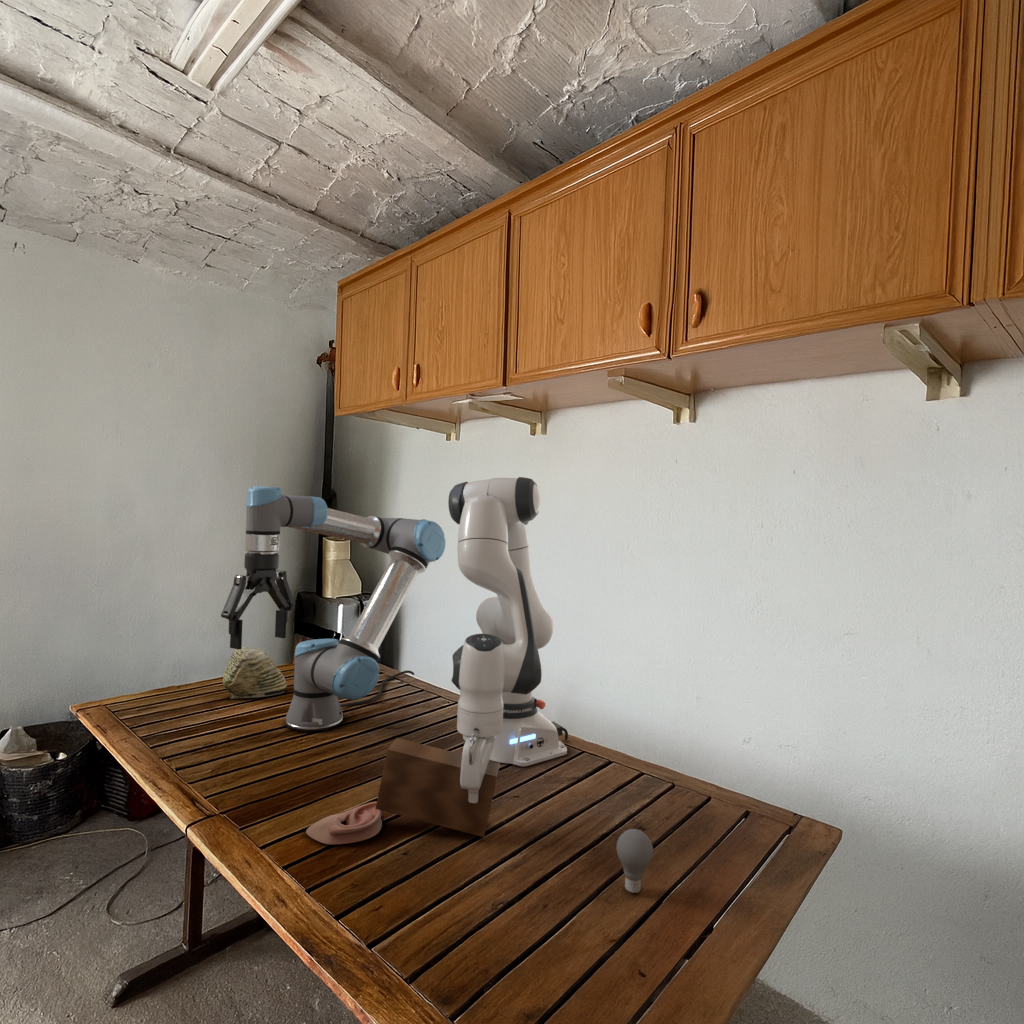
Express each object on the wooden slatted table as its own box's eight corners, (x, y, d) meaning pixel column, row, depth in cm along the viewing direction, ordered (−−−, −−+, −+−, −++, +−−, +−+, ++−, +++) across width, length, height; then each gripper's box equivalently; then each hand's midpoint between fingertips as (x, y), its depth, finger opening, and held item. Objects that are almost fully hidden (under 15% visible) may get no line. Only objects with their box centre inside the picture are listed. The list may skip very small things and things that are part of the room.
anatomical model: (298, 818, 116) (328, 791, 128) (297, 839, 116) (327, 810, 128) (365, 829, 114) (390, 800, 125) (364, 851, 114) (389, 820, 125)
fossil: (218, 695, 195) (220, 647, 195) (278, 685, 208) (279, 640, 207) (228, 703, 189) (230, 653, 188) (289, 692, 201) (290, 645, 201)
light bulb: (610, 879, 108) (613, 822, 108) (644, 879, 109) (647, 822, 109) (619, 902, 102) (622, 840, 102) (655, 901, 103) (658, 840, 103)
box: (375, 809, 121) (387, 749, 121) (384, 794, 127) (396, 737, 127) (483, 837, 119) (496, 776, 119) (488, 821, 125) (500, 763, 125)
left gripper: (230, 557, 135) (227, 655, 135) (311, 550, 158) (308, 635, 158) (205, 554, 138) (202, 651, 138) (288, 548, 161) (285, 631, 161)
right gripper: (489, 742, 111) (485, 820, 111) (502, 705, 132) (498, 771, 132) (453, 739, 112) (450, 816, 112) (472, 703, 132) (469, 769, 132)
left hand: (258, 642), depth 148 cm, fingers open, 13 cm apart
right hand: (476, 792), depth 122 cm, fingers closed on box, 6 cm apart
